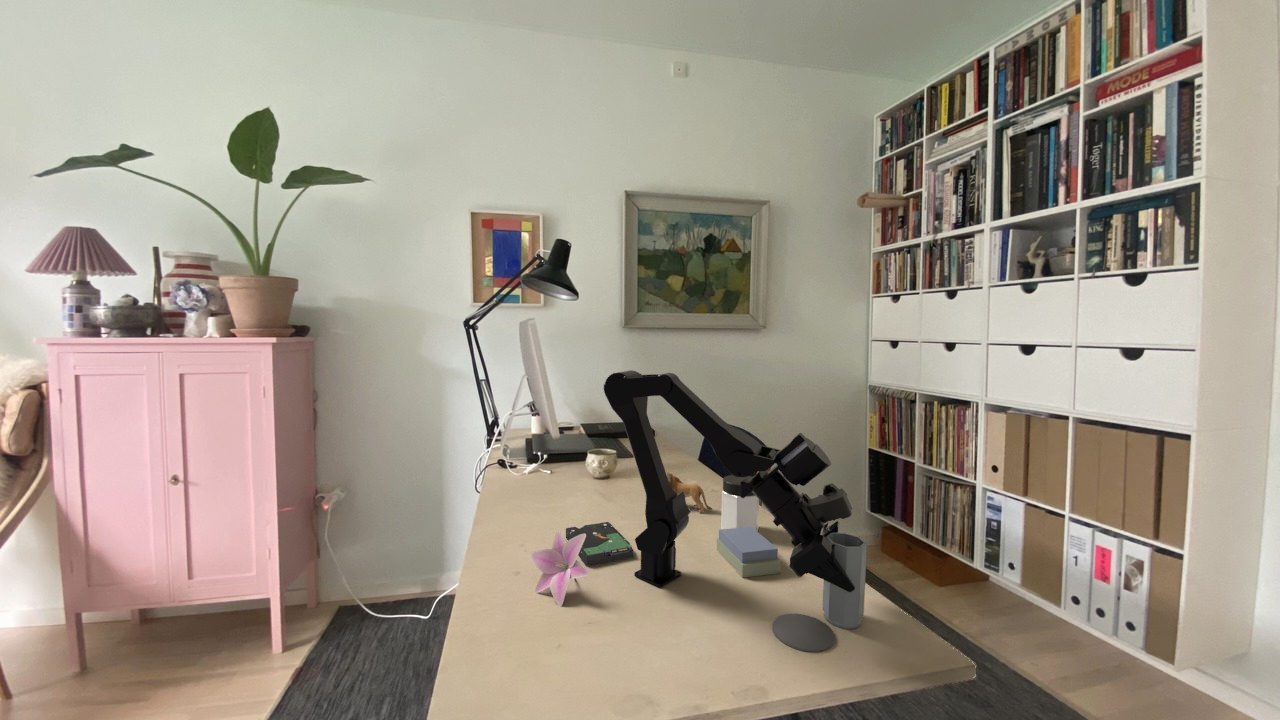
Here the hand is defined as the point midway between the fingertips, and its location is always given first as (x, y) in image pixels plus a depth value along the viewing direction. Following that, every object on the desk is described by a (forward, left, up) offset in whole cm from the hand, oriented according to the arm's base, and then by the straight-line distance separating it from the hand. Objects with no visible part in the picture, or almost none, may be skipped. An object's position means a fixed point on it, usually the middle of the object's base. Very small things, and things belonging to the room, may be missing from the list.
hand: (853, 580), depth 79 cm
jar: (+19, +32, -7) cm, 37 cm away
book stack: (+7, +23, -7) cm, 25 cm away
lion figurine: (+21, +50, -7) cm, 55 cm away
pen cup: (0, +1, -7) cm, 7 cm away
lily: (-26, +41, -7) cm, 49 cm away
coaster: (-8, +4, -7) cm, 12 cm away
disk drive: (-10, +49, -7) cm, 51 cm away
